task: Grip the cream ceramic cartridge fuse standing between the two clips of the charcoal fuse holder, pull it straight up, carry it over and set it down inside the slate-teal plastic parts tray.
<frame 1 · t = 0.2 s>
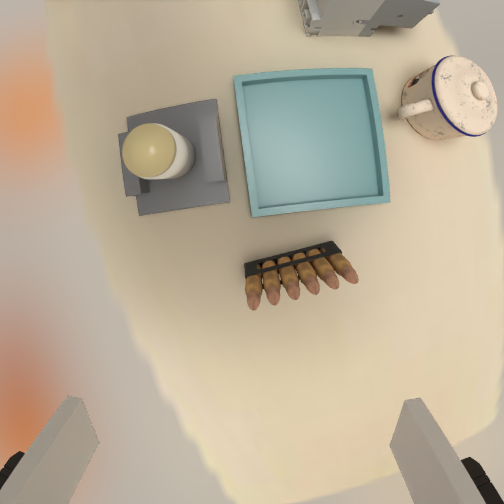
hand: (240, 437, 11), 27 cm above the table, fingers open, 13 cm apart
teacup with lid: (420, 109, 33), on the table
fuse holder: (176, 157, 35), on the table
ammunition clip: (290, 259, 38), on the table
fuse: (175, 156, 35), resting on fuse holder
parts tray: (312, 139, 35), on the table
circuit breaker: (354, 13, 31), on the table
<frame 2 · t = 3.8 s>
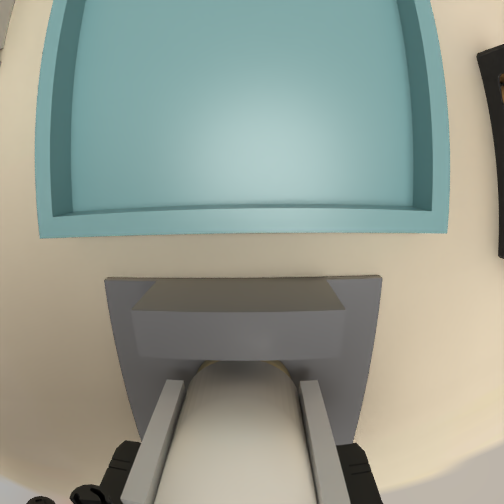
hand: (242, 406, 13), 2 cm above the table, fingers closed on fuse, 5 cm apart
fuse holder: (243, 384, 15), on the table
fuse: (243, 388, 14), resting on fuse holder, touching gripper
parts tray: (237, 38, 11), on the table
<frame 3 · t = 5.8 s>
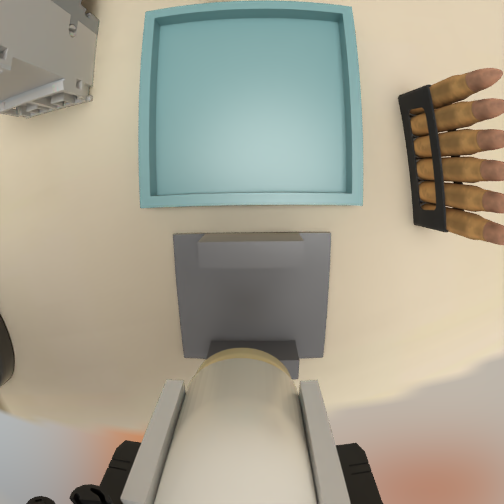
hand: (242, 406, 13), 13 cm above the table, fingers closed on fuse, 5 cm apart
fuse holder: (252, 299, 26), on the table
ammunition clip: (416, 159, 23), on the table
fuse: (243, 388, 14), point 12 cm above the table, touching gripper
parts tray: (249, 100, 22), on the table
circuit breaker: (65, 41, 21), on the table
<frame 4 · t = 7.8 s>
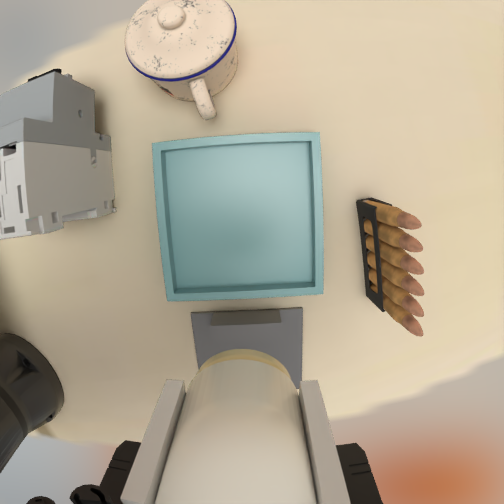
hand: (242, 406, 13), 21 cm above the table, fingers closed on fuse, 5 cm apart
teacup with lid: (199, 75, 29), on the table
fuse holder: (249, 353, 36), on the table
ammunition clip: (369, 248, 33), on the table
fuse: (243, 389, 14), point 20 cm above the table, touching gripper
parts tray: (240, 216, 32), on the table
circuit breaker: (82, 151, 31), on the table
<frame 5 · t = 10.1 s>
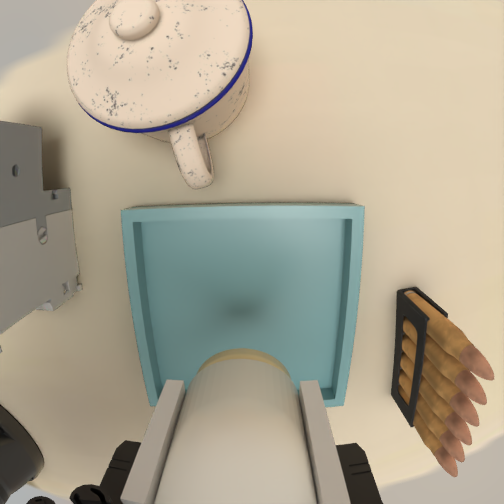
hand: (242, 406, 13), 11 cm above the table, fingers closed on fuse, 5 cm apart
teacup with lid: (192, 104, 21), on the table
ammunition clip: (403, 344, 25), on the table
fuse: (243, 389, 14), point 10 cm above the table, touching gripper
parts tray: (244, 309, 24), on the table
circuit breaker: (37, 205, 22), on the table
when the fingers open (3 cm above the table, at t = 11.9 s): fuse stays where it is, resting on parts tray.
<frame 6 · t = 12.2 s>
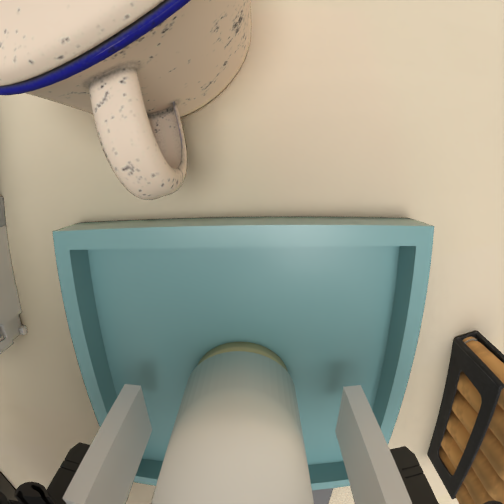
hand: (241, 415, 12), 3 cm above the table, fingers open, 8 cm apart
teacup with lid: (164, 66, 13), on the table
ammunition clip: (450, 399, 17), on the table
fuse: (241, 381, 15), point 1 cm above the table, touching parts tray
parts tray: (244, 372, 16), on the table
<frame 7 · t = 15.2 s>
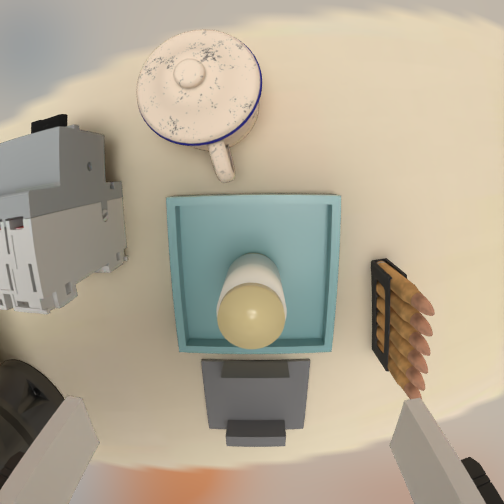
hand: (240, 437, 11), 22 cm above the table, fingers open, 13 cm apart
teacup with lid: (217, 121, 29), on the table
fuse holder: (255, 397, 36), on the table
ammunition clip: (379, 305, 33), on the table
fuse: (253, 275, 31), point 1 cm above the table, touching parts tray
parts tray: (254, 273, 32), on the table
circuit breaker: (92, 194, 31), on the table
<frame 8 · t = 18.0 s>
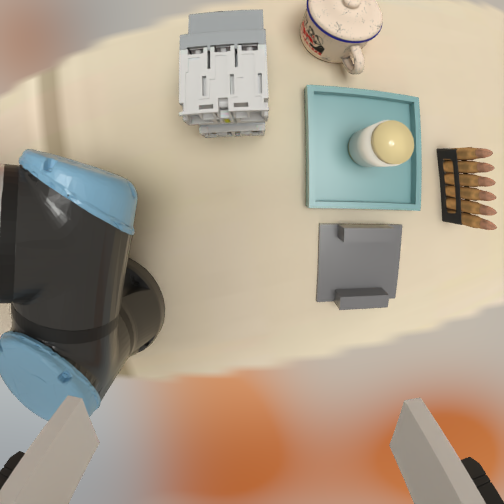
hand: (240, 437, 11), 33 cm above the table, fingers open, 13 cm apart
teacup with lid: (333, 46, 36), on the table
fuse holder: (359, 262, 43), on the table
ammunition clip: (444, 184, 41), on the table
fuse: (364, 148, 39), point 1 cm above the table, touching parts tray
parts tray: (363, 149, 40), on the table
circuit breaker: (233, 84, 38), on the table
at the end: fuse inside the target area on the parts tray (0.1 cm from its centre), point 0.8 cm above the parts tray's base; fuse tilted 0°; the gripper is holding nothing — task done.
